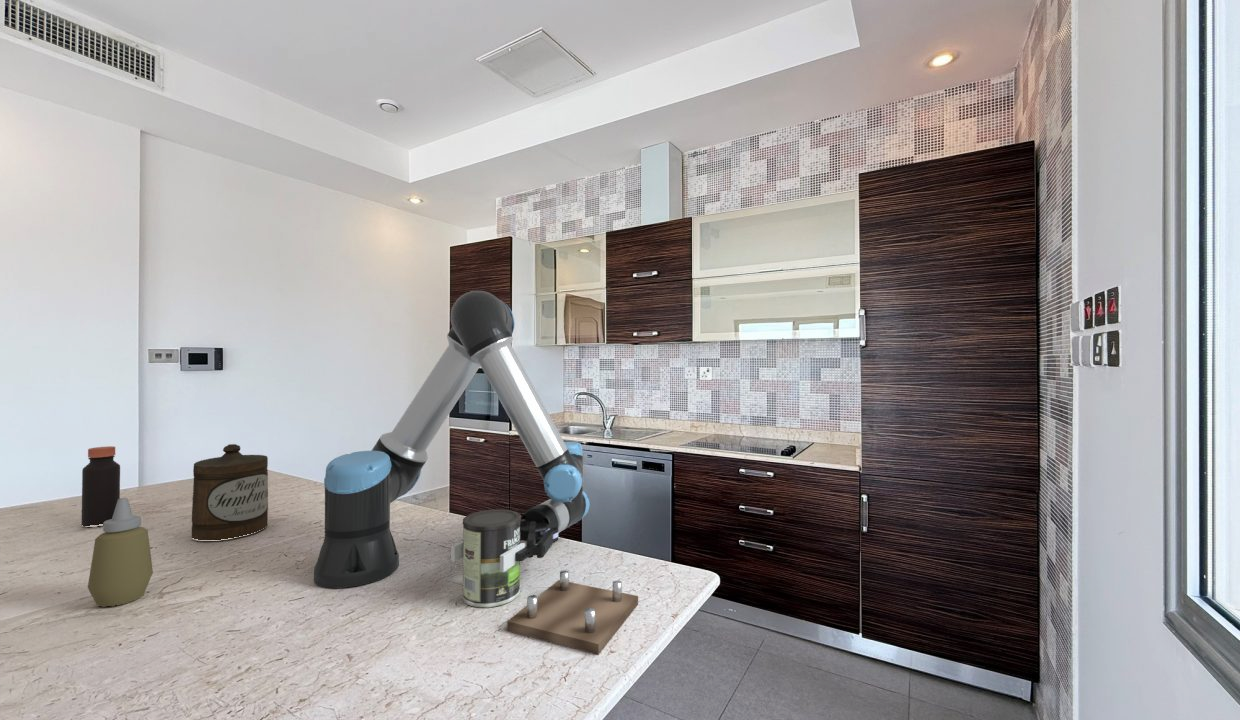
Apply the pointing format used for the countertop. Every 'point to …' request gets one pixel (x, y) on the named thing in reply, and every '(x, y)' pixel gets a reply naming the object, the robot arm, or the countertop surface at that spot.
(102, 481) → the vinegar
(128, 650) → the countertop surface
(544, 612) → the pin nest
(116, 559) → the squeeze bottle
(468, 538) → the coffee can
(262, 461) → the wooden container
